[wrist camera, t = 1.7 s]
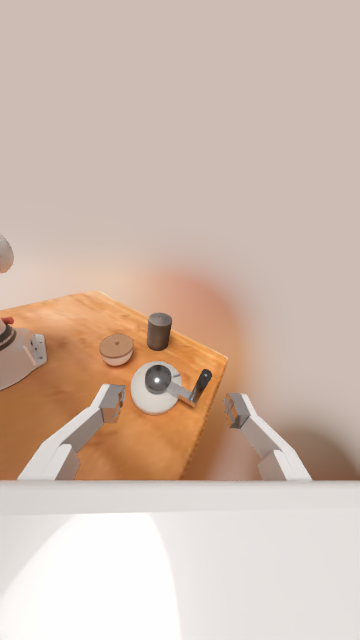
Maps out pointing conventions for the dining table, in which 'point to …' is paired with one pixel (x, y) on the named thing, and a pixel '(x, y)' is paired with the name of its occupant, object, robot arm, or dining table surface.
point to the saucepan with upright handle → (174, 384)
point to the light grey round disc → (147, 400)
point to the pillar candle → (158, 331)
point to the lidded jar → (116, 349)
